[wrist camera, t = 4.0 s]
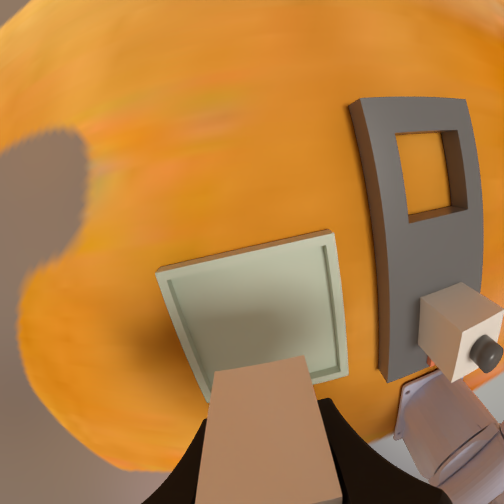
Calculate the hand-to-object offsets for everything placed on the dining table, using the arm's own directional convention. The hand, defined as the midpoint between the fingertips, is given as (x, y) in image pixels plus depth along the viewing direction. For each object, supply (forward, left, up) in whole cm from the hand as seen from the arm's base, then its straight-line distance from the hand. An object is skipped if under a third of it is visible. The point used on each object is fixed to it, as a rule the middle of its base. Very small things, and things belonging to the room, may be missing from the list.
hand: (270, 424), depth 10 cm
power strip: (+3, -13, -9) cm, 16 cm away
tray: (0, 0, -9) cm, 9 cm away
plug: (0, 0, -2) cm, 2 cm away
